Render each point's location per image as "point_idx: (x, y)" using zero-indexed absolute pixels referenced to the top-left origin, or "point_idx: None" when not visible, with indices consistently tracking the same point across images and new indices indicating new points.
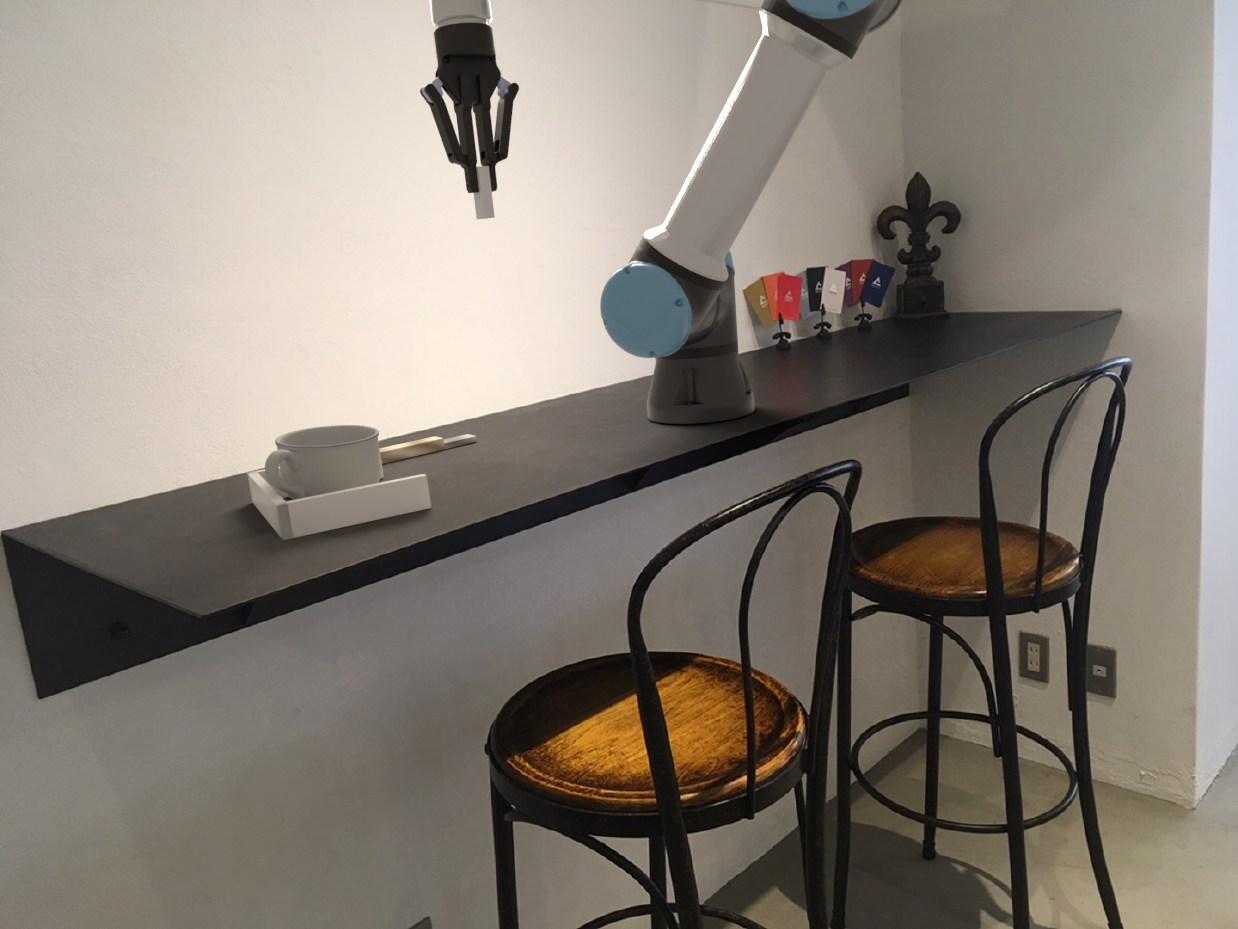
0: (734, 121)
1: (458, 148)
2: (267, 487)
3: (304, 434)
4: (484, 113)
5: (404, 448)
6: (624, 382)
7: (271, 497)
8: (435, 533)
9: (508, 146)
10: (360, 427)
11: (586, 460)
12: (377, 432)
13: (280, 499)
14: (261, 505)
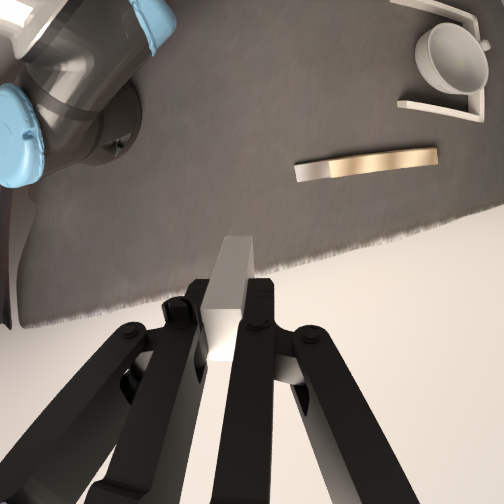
0: None
1: (311, 359)
2: None
3: (469, 91)
4: (138, 475)
5: (366, 155)
6: (105, 307)
7: (479, 37)
8: None
9: (100, 347)
10: (436, 68)
11: (250, 20)
12: (429, 36)
13: (475, 27)
14: None
